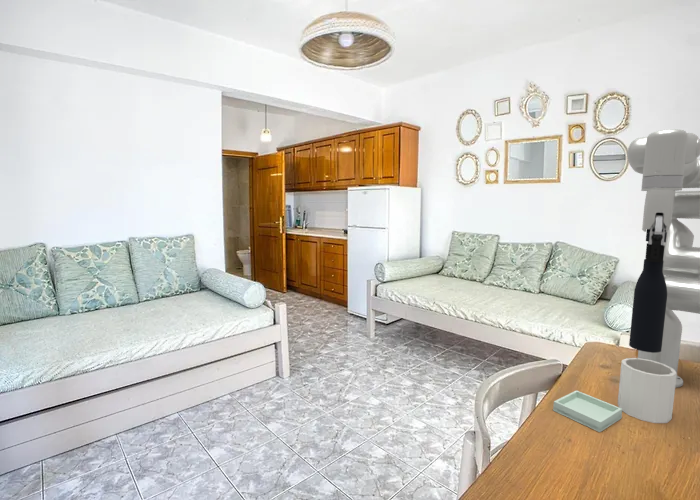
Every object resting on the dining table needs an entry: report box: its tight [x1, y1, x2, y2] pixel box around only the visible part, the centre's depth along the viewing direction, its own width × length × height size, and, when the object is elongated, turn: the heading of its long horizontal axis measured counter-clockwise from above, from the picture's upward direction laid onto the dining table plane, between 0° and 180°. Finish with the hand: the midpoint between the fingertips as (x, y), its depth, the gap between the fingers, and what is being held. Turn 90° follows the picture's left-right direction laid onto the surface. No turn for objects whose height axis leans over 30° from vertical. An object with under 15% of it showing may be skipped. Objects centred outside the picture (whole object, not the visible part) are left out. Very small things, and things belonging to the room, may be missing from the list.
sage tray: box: [552, 390, 623, 433], centre depth 95 cm, size 11×11×2 cm
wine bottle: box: [628, 228, 667, 353], centre depth 93 cm, size 6×6×30 cm
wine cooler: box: [617, 357, 678, 424], centre depth 96 cm, size 11×11×12 cm
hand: (653, 259), depth 92 cm, fingers closed on wine bottle, 3 cm apart
